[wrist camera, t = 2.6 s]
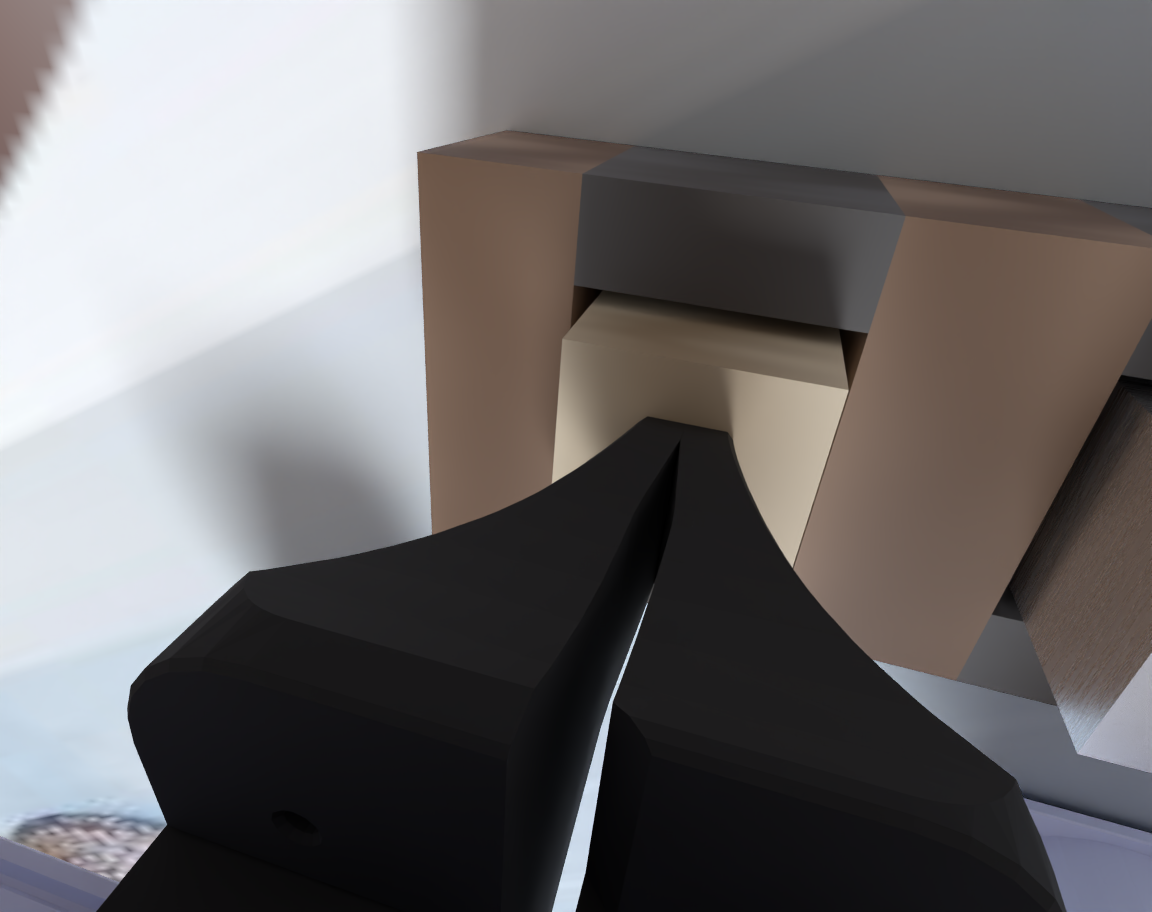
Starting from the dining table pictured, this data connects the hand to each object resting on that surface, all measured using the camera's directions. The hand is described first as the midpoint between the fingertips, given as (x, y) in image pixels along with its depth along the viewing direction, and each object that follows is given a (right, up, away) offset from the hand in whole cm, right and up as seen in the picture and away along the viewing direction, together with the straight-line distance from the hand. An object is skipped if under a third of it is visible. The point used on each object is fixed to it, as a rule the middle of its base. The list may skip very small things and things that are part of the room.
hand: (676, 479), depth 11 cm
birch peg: (+1, +2, +3) cm, 4 cm away
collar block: (+5, +2, +4) cm, 7 cm away
